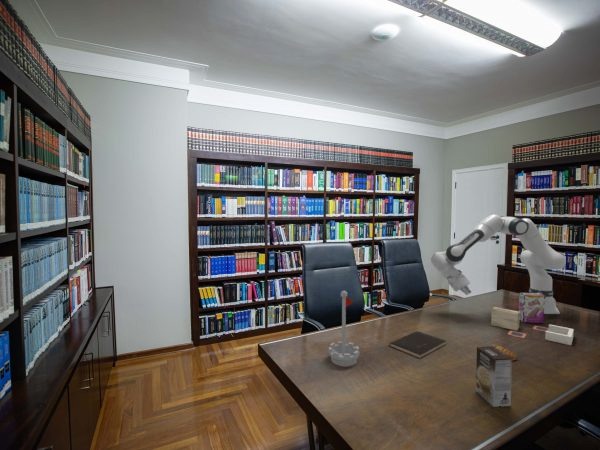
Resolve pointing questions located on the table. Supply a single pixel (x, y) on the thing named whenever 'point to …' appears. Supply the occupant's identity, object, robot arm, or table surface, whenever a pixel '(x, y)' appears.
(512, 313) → the maple block
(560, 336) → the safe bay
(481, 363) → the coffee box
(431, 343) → the hardcover book
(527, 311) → the candy bar box
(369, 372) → the table surface
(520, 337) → the plate
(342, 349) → the flag stand
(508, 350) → the pastry
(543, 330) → the plate
